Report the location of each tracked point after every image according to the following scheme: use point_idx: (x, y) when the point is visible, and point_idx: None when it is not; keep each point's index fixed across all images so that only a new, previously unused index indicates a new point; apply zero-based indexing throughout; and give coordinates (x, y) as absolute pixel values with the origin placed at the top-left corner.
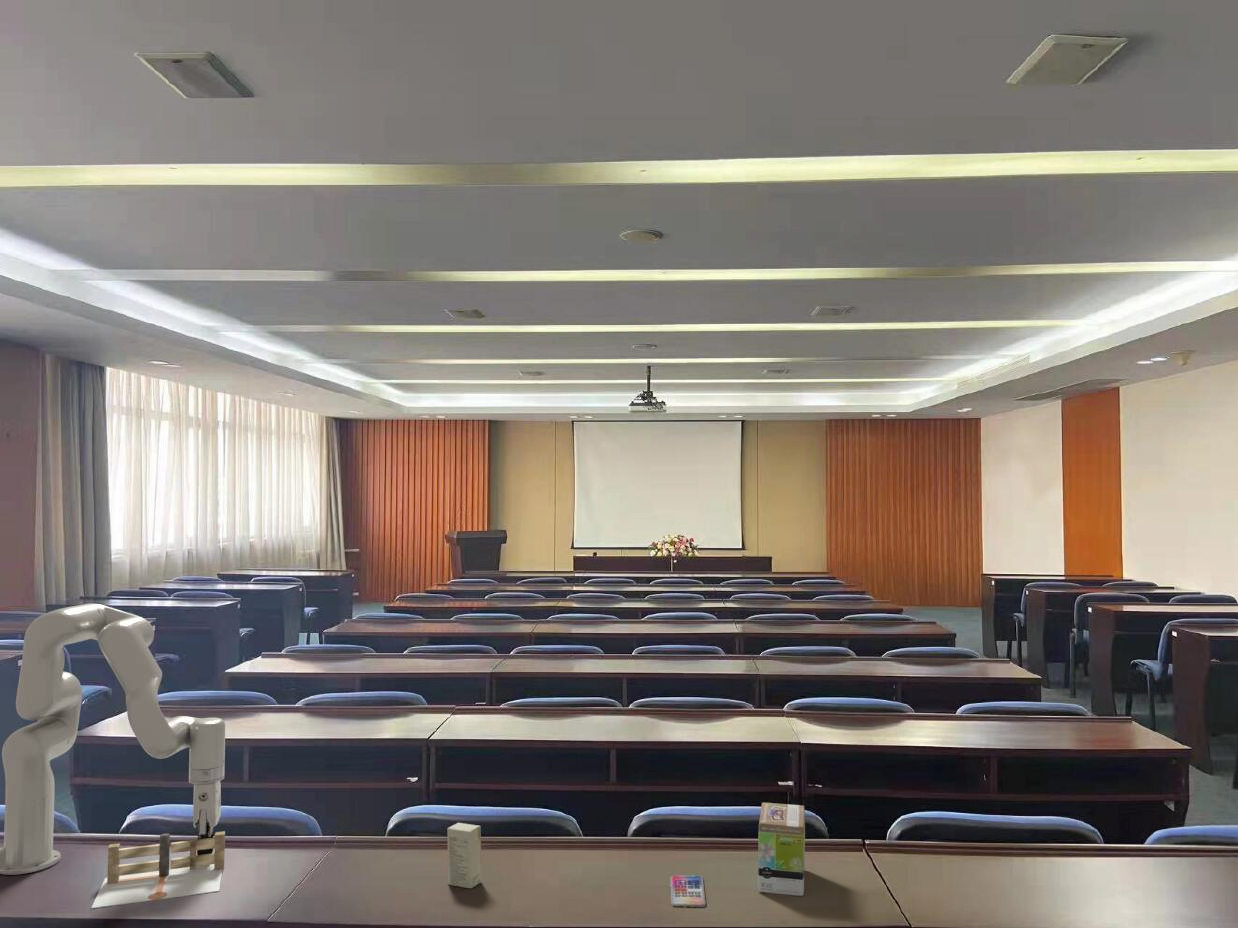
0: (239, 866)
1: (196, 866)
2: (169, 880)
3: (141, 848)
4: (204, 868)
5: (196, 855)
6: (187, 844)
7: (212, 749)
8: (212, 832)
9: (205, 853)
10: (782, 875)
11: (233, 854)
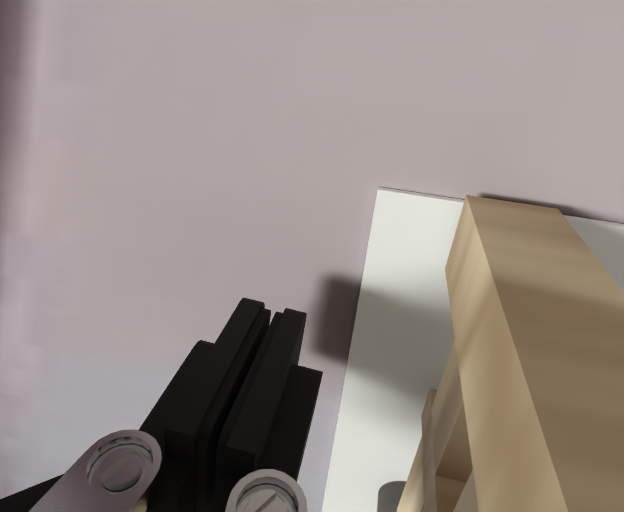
0: (551, 39)
1: (353, 359)
2: None
3: None
4: (425, 326)
5: (435, 472)
6: None
7: None
8: (121, 440)
9: (297, 358)
10: None
11: (172, 79)
